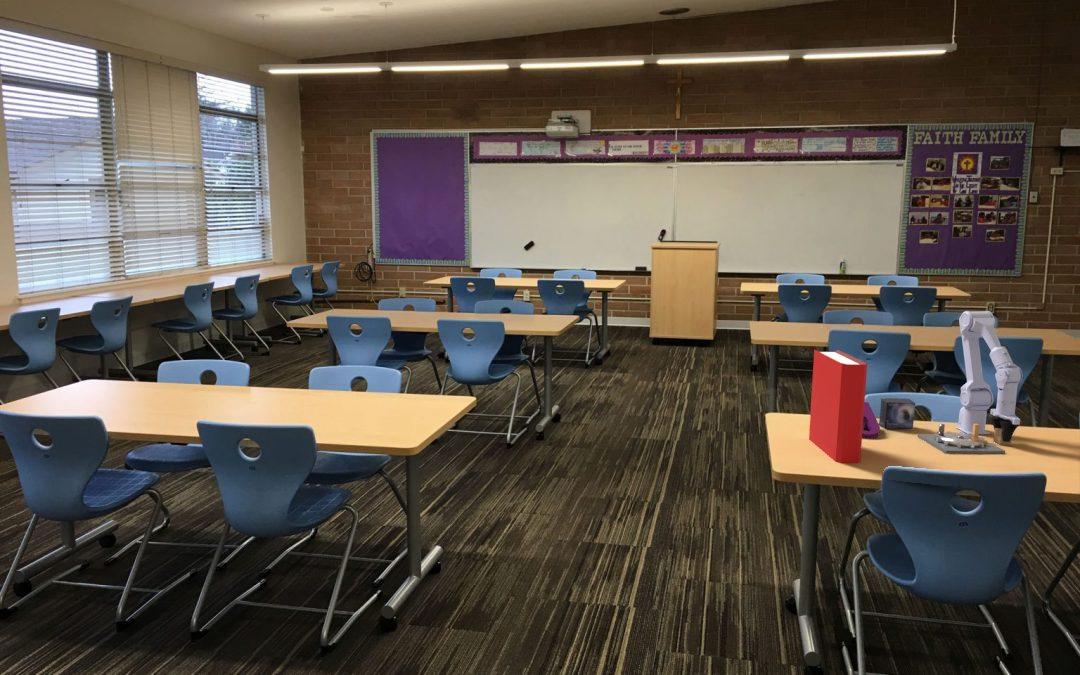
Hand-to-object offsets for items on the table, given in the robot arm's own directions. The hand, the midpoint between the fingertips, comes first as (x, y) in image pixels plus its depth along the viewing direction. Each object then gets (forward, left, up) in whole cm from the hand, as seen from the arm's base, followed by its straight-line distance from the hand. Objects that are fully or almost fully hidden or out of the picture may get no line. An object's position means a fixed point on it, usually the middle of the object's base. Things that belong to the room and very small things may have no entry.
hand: (1002, 439), depth 295 cm
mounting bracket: (-15, -44, -2) cm, 46 cm away
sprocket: (+2, -16, 0) cm, 16 cm away
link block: (0, 0, -1) cm, 1 cm away
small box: (-21, -28, -2) cm, 35 cm away
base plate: (+2, -16, -1) cm, 16 cm away
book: (+9, -62, -2) cm, 63 cm away
